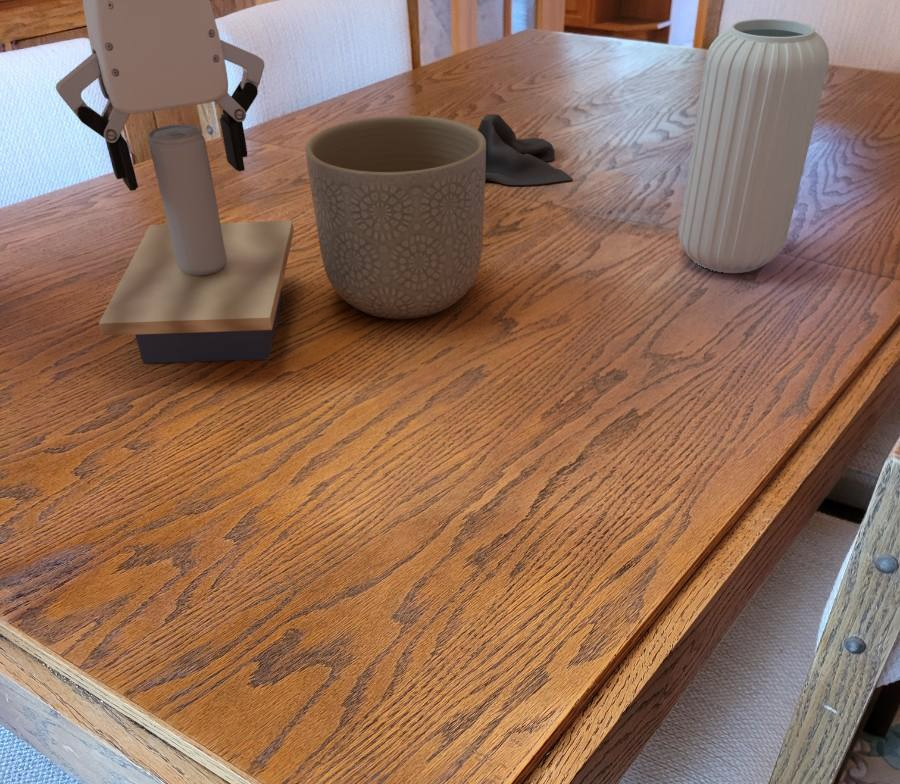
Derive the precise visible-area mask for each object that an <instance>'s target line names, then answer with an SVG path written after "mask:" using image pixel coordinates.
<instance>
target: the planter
mask: <svg viewBox="0 0 900 784" xmlns="http://www.w3.org/2000/svg"><path fill="white" fill-rule="evenodd" d="M305 158H306V165H307V173H308V180H309V187H310V192H311V198H312V205H313V211H314V217H315V224H316V230H317V236H318V242H319V250H320V255H321V259H322V263H323V268H324V272H325V274H326V277H327V279H328V282H329V283H330V286H331V287H332V288H333V289H334V290H335V292H336V293H337V295H338V296H340V297H341V298H342V299H343V300H344V301H345V302H346V303H348V304H349V305H351V306H352V307H353V308H355V309H357V310H359V311H361V312H362V313H365V314H367V315H370V316H372V317H377V318H382V319H388V320H413V319H414V320H415V319H420V318H425V317H429V316H433V315H435V314H438V313H440V312H443V311H444V310H447V309H448V308H449V307H451V306H453V305H454V304H456V303H457V302H458V301H460V299H462V298H463V297H464V296H465V295H466V293H468V291H469V290H470V288H471V287H472V286H473V284H474V282H475V281H476V279H477V277H478V274H479V270H480V267H481V262H482V254H483V245H484V243H483V242H484V217H485V216H484V215H485V199H486V198H485V197H486V196H485V195H486V181H485V174H486V140H485V138H484V136H483V135H482V134H481V133H480V132H479V131H478V129H477V128H475V127H474V126H471V125H469V124H466V123H463V122H461V121H457V120H453V119H449V118H444V117H436V116H428V115H427V116H426V115H408V114H407V115H385V116H384V115H383V116H373V117H365V118H360V119H354V120H350V121H346V122H342V123H338V124H335V125H332V126H330V127H327V128H325V129H323V130H321V131H319V132H318V133H316V134H314V135H313V136H312V137H310V139H309V140H308V141H307V143H306V145H305Z"/></svg>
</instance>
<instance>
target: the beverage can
mask: <svg viewBox="0 0 900 784" xmlns="http://www.w3.org/2000/svg"><path fill="white" fill-rule="evenodd" d="M202 134H203V131H202V128H201V127H199V126H196V125H192V124H185V123H184V124H169V125H164V126H161V127H157V128H155V129H153V130H151V131H150V132H149V133H148V138H149V142H148V147H149V151H150V155H151V160H152V164H153V167H154V172H155V176H156V181H157V185H158V189H159V195H160V198H161V202H162V206H163V210H164V215H165V220H166V225H168V228H169V233H170V237H171V241H172V246H173V250H174V254H175V259H176V263H177V266H178V267H179V268H180V269H181V270H182V271H183V272H184V273H186V274H189V275H194V276H204V275H210V274H214V273H216V272H218V271H220V270H222V268H223V267H224V265H225V263H226V260H227V258H226V252H225V247H224V242H223V236H222V231H221V225H220V223H221V220H220V214H219V208H218V203H217V202H218V201H217V197H216V196H217V195H216V192H215V186H214V180H213V175H212V169H211V164H210V160H209V153H208V148H207V144H206V139H205V137H204V136H203V135H202Z"/></svg>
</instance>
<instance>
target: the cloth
mask: <svg viewBox="0 0 900 784" xmlns="http://www.w3.org/2000/svg"><path fill="white" fill-rule="evenodd" d="M477 130H478V131H479V132H480V133H481V134H482V135H483V136H484V138H485V140H486V174H485V182H487V181H490V182H494V183H499V184H502V185H505V186H511V187H532V186H543V185H549V184H557V183H558V184H559V183H565V182H572V181H573V177H571V176H570V175H569V174H568V173H566V171H564V170H563V169H559V168H556V167H554V166H553V165H551V164H549V163H548V162H552V161H554V160H555V158H556V157H555V148H554V146H553V144H552V143H551V142H550V141H548V140H546V139H544V138H539V137H530V138H517V135H516V133H515V131H514V130H513V128H512V127H511V126H510V125H509V124H508V123H507V122H506V121H505V120H504V119H503V118H502V117H501V115H499V114H495V113H489V114H487V115H484V116H483V118H482V119H481V121H480V123H479V125H478V128H477Z"/></svg>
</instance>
